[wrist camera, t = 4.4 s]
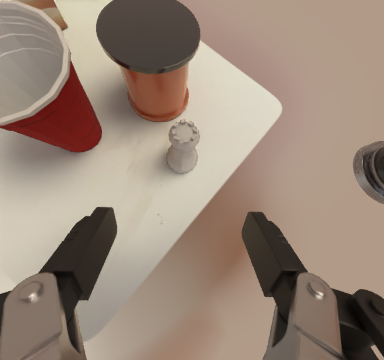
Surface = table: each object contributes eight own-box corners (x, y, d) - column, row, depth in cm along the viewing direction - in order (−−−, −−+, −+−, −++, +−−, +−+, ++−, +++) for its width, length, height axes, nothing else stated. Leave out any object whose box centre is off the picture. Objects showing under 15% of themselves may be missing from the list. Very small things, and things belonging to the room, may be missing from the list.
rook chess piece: (196, 175, 23) (206, 152, 16) (165, 173, 23) (160, 149, 15) (197, 146, 24) (207, 113, 17) (167, 144, 24) (163, 109, 16)
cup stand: (189, 70, 28) (196, -5, 18) (194, 125, 25) (204, 70, 16) (125, 68, 27) (98, -12, 17) (124, 126, 24) (92, 67, 15)
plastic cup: (26, 164, 21) (-149, 100, 10) (55, 97, 24) (-57, -15, 13) (109, 177, 22) (35, 131, 11) (127, 110, 25) (85, 15, 13)
